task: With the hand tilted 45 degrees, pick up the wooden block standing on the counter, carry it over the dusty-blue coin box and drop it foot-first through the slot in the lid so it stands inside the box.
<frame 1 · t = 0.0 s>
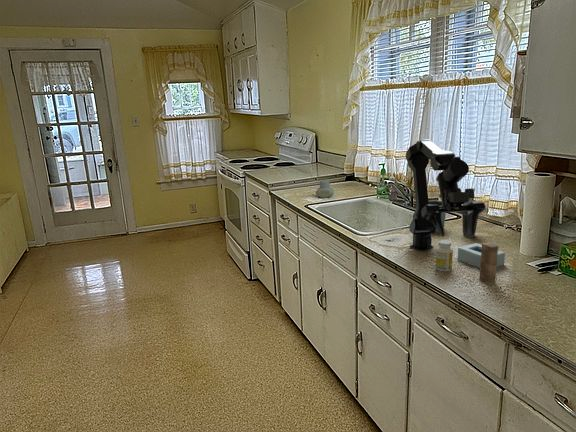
hand: (457, 235, 133), 15 cm above the worktop, tool tilted 35°, fingers open, 9 cm apart
air freshener: (325, 197, 262), on the worktop
supplement bottle: (443, 269, 146), on the worktop
blue-grey round container: (433, 229, 189), on the worktop
beverage cup: (468, 236, 178), on the worktop
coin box: (480, 262, 150), on the worktop
wooden block: (487, 280, 135), on the worktop
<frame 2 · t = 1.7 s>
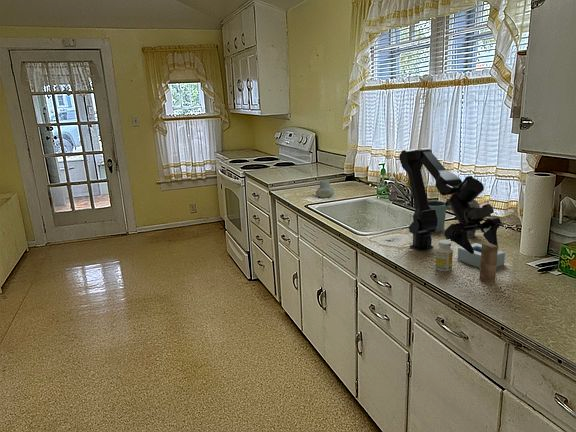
hand: (485, 251, 134), 9 cm above the worktop, tool tilted 45°, fingers open, 9 cm apart
nothing on the worktop moved.
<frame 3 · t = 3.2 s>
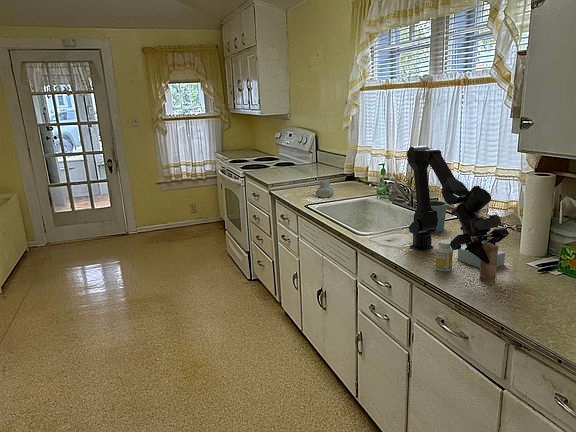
hand: (492, 262, 132), 7 cm above the worktop, tool tilted 45°, fingers closed on wooden block, 2 cm apart
wooden block: (487, 280, 135), on the worktop, touching gripper
everything else where it was.
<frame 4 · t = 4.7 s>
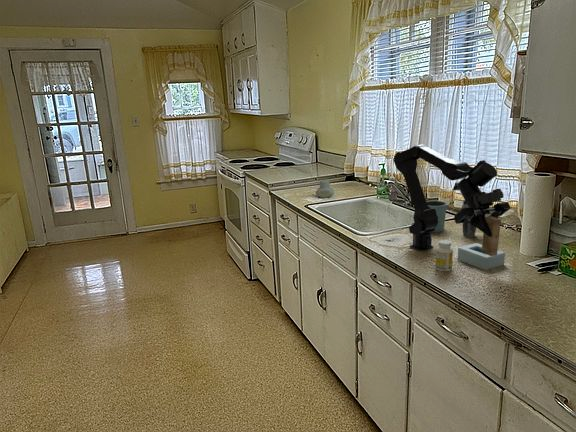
hand: (494, 235, 135), 13 cm above the worktop, tool tilted 45°, fingers closed on wooden block, 2 cm apart
wooden block: (489, 253, 138), point 7 cm above the worktop, touching gripper
everything else where it was.
when the fingers open (12 cm above the worktop, at t = 6.0 s): wooden block drops 5 cm, resting on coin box.
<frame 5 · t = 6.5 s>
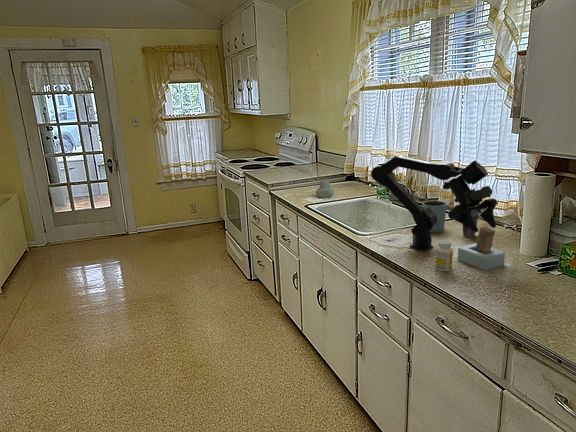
hand: (486, 229, 145), 12 cm above the worktop, tool tilted 45°, fingers open, 8 cm apart
wooden block: (480, 259, 149), point 1 cm above the worktop, tilted 11°, touching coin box
everything else where it was.
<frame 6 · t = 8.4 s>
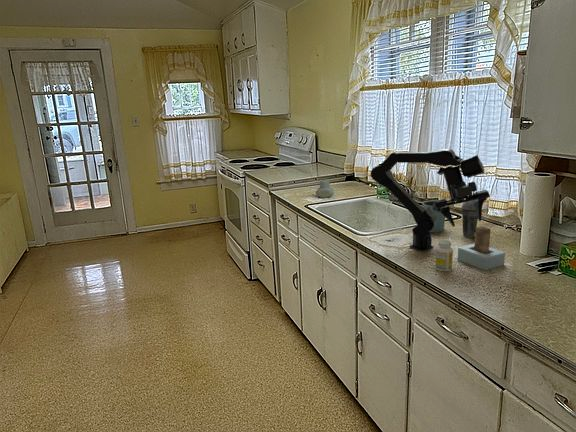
hand: (467, 223, 151), 13 cm above the worktop, tool tilted 30°, fingers open, 9 cm apart
wooden block: (480, 260, 150), resting on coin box
everything else where it was.
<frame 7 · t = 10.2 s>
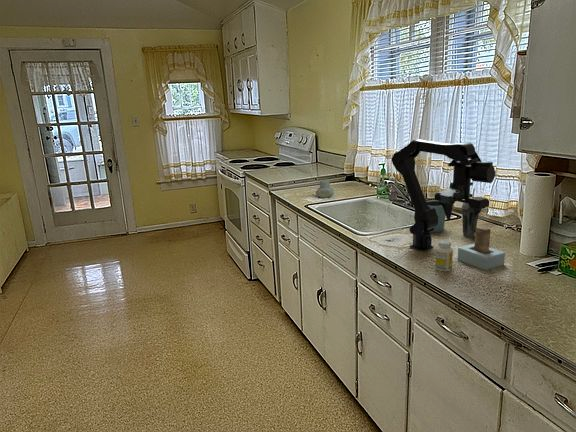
hand: (459, 222, 152), 13 cm above the worktop, tool pointing down, fingers open, 9 cm apart
nothing on the worktop moved.
at the end: wooden block inside the target area on the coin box (0.1 cm from its centre), point 0.5 cm above the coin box's base; the gripper is holding nothing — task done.
